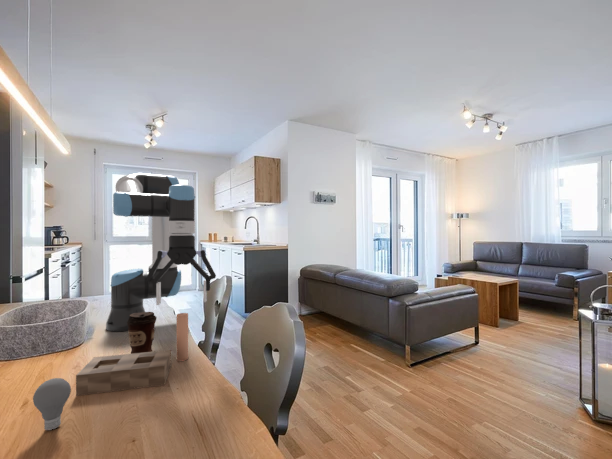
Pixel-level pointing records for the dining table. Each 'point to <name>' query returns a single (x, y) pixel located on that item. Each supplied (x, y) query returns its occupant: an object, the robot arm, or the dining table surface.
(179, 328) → the dowel
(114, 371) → the bore block
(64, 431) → the dining table surface
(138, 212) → the robot arm
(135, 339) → the coffee cup
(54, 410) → the light bulb
